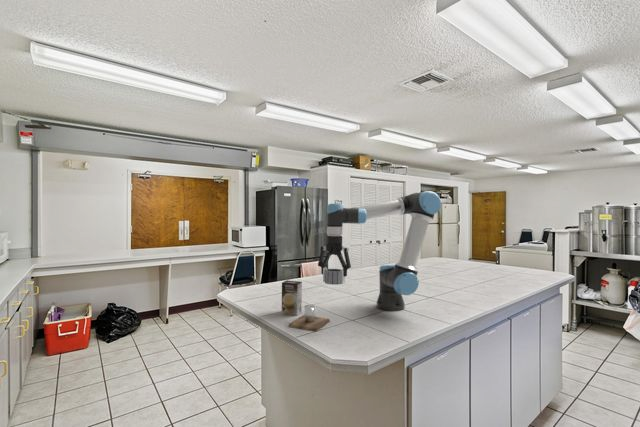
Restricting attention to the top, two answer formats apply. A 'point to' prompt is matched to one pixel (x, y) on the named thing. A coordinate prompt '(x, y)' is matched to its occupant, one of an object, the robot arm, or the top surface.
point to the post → (309, 314)
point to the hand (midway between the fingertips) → (333, 282)
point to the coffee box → (291, 297)
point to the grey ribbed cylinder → (333, 276)
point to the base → (309, 326)
